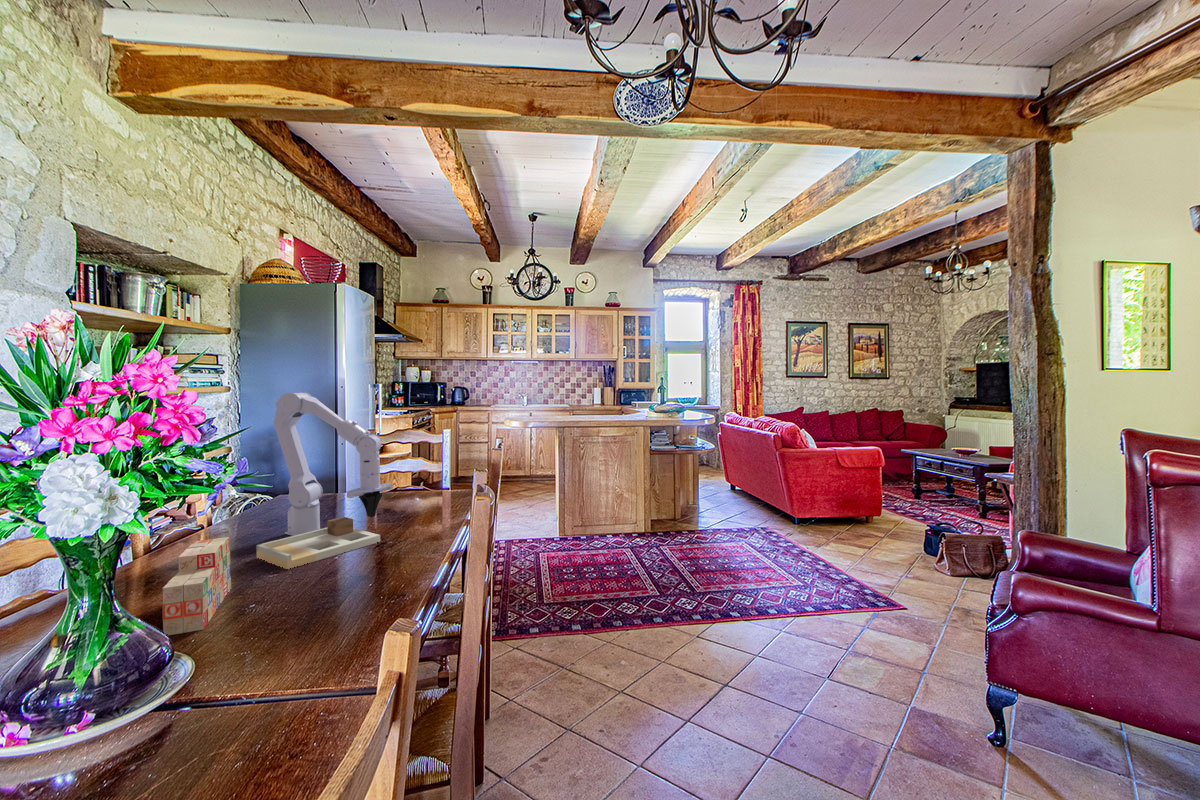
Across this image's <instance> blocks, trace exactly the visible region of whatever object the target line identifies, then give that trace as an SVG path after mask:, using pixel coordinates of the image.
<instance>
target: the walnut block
mask: <svg viewBox="0 0 1200 800" xmlns="http://www.w3.org/2000/svg"><path fill="white" fill-rule="evenodd" d="M326 524H327V527H328V534H330V535H334V536H341V535H345V534H349V533H352V532H353V528H354V518H352V517H351V518H350V517H347V516H341V517H337V518H332V519H329V520H327V523H326Z"/></svg>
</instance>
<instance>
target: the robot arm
mask: <svg viewBox="0 0 1200 800" xmlns="http://www.w3.org/2000/svg"><path fill="white" fill-rule="evenodd" d="M275 407H276V410H275V414H274V419H273V427H274V429H275V432H276V435H277V439H278V441H279V444H280V447H281V452H282V454H283V458H284V461H285V463H286V464H285V465H286V468H287V470H288V473H289V477H290V479H289V482H288V485H287V487H288V491H289V493H288V497H287V498H288V501H289V503H290V504H291V506H290V507H289V509H288V511H287V531H285V532H284V534H285V535H289V536H290V537H291V536H295V535H299V534H303V533H307V532H311V531H315V530H319V529H321V517H320V516H321V514H320V509H321V508H320V501H319V499H320V498H321V497H322V495H323V491H324V490H323V487H322V485H321V483H319V481H318V480H317V478H316V476H315V474H313V473H311V471H310V467H309V464H308V461H307V458H306V455H305V451H304V449H303V445H302V442H301V438H300V436H299V432H298V429H297V426H296V424H297V423H298V421H299V420H300V419H301V417H302V416H303V415H306V414H307V415H314V416H316V417H317V418H318V419H320V420H322V421H324V422H325V423H326V424H328V425H330V426H332V427H333V428H335V429H336V432H337V435H338V436H339V437H341V438H342V439H344V440H345V441H346V442H348V443H349V444H351V445H352V446H353V447H355V448H356V450H357V452H358V453H359V470H360V471H359V479H360V480H359V484H360V485H359V486H360V487H358V488H354V489H352V490H348V491H346V498H347V499H354V498H356V497H358V498H359V499H360V502H361V503H362V505H363V507H364V510H365V512H366V515H367V517H368V518H373V517H376V514H377V509H378V506H379V503H380V501H381V499H382V498H383V493H382V492H384V491H391V490H393V488H394V485H393V483H390V482H387V483H381V462H380V459H381V458H380V449H381V447H382V440H381V438H380V437H379V436H378V434H374V433H373V434H372V433H371V431H370V430H366V429H364V428H363V427H362V426H360V425H358V424H359V423H358V422H357V421H356V420H353V421H352V419H348V420H344V419H343V418H342V417H340V415H338V414H336V413H335V412H334V411H333V410H332V409H330V408H329V407H328V406H326V405H325V404H324V403H322V402H321V401H320V400H319V399H318V398H317V397H315V396H312V395H311V394H310V393H308V392H305V391H301V392H286V393H283V394H282V395H281V396H280V397H279V399H277V401H276V402H275Z"/></svg>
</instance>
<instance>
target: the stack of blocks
mask: <svg viewBox="0 0 1200 800" xmlns="http://www.w3.org/2000/svg"><path fill="white" fill-rule="evenodd" d="M230 545H231V544H230V537H229V536H227V537H218V538H213V539H212V538H209V539H201V540H196V541H195V540H194V542H193V543H192V544H190V545H189V546H187V548H186V549H185V550H184V551H182V553H181V554H180V555H179V556H178V557H177V558H178V560H177V561H178V563H177V564H178V572H177V573H176V574H175V575H174V576H173V577H172V578H171V579H170V580H169V581H167V583H166V584H165V585H164V586H163V587H162V605H161V607H162V611H161V612H162V630H163V631H162V632H164V633H166V634H168V635H167V636H172V635H178V634H184V633H185V634H186V633H191V632H196V631H202V630H204V629H205V626H206V625H207V624H208V623H209V622H210V620H211V619H212V618H213V616H214V615H215V613H216V612H217V610H218V608H219V607H220V605H221V604H222V603H223V601H224V600H225V599H224V598H226V597H227V596H228V594H229V593H230V592H231V590H232V578H231V550H230V549H231V546H230ZM230 589H231V590H230ZM228 592H229V593H228ZM227 593H228V594H227ZM226 595H227V596H226ZM225 596H226V597H225ZM220 603H221V604H220ZM218 606H219V607H218ZM216 609H217V610H216Z"/></svg>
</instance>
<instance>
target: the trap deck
mask: <svg viewBox="0 0 1200 800" xmlns="http://www.w3.org/2000/svg"><path fill="white" fill-rule="evenodd" d="M377 542H378V543H380V542H381V534H377V533H373V532H369V531H365V530H363V529H362V530H361V529H359V528H355V527H353V532H352V533H349V534H345V535H341V536H334V535H330V534H328V526H327V527H324V528H320V529H319V530H315V531H311V532H307V533H303V534H299V535H295V536H291V535H290V536H287V537H284V538H280V539H276V540H271V541H266V542H263V543H259V544H256V546H255V547H256V548H255V550H256V559H258V558H259V559H258V560H260V559H262V560H261V561H263V560H265V561H264V562H266V561H267V562H266V563H269V564H271V563H272V565H274V564H275V566H277V567H279V566H280V568H282V567H283V568H282V569H285V570H287V569H288V570H291V569H295V568H297V566H298V567H301V566H304V564H305V565H307V563H308V564H311V563H314V562H317V561H321V560H324V559H327V558H331V557H334V556H338V555H340V554H344V552H345V553H347V552H351V551H354V550H357V549H361V548H363V547H368V546H371V545H373V544H377ZM294 567H295V568H294ZM290 568H291V569H290Z"/></svg>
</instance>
